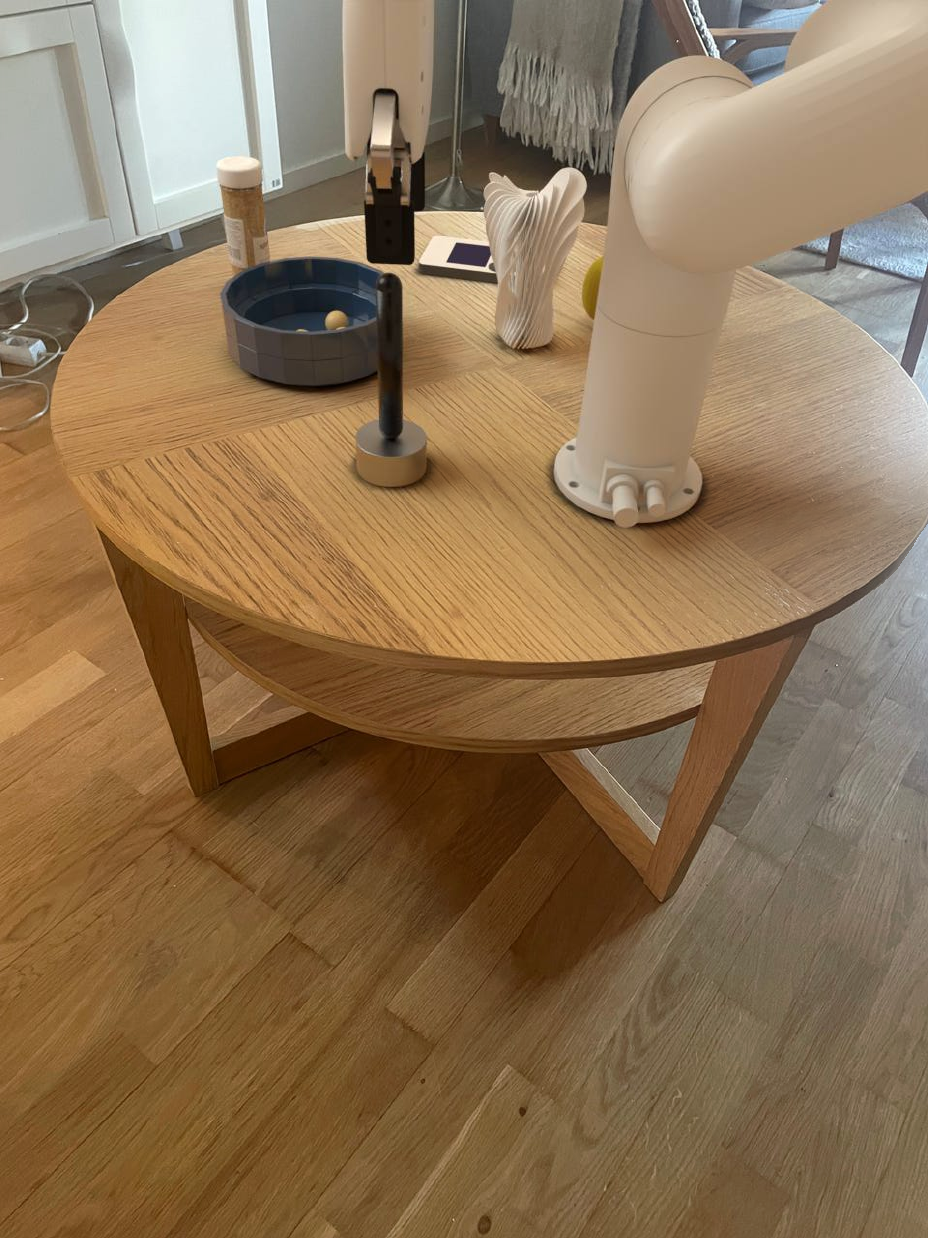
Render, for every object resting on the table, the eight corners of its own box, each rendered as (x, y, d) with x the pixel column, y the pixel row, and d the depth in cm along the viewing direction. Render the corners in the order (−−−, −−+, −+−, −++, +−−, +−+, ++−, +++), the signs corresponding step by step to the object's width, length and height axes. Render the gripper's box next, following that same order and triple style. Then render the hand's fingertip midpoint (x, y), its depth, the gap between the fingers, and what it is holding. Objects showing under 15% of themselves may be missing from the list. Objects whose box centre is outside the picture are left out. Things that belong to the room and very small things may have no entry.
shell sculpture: (469, 330, 98) (479, 148, 86) (540, 320, 101) (558, 142, 88) (499, 366, 93) (514, 179, 80) (573, 355, 95) (598, 171, 83)
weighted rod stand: (423, 489, 77) (426, 293, 65) (352, 485, 77) (342, 288, 65) (428, 449, 82) (432, 259, 70) (361, 445, 82) (353, 254, 70)
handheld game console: (434, 244, 114) (434, 233, 114) (553, 258, 113) (554, 247, 112) (417, 273, 108) (417, 261, 107) (543, 289, 106) (544, 277, 105)
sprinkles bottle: (279, 294, 103) (266, 166, 93) (239, 300, 101) (222, 171, 92) (266, 278, 105) (253, 152, 96) (227, 284, 104) (210, 156, 95)
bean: (327, 308, 94) (317, 321, 93) (345, 303, 93) (336, 317, 92) (338, 328, 96) (328, 341, 95) (356, 324, 95) (347, 337, 93)
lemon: (626, 340, 98) (639, 266, 92) (574, 333, 99) (584, 259, 93) (630, 318, 102) (642, 245, 96) (580, 311, 103) (590, 239, 97)
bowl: (391, 397, 88) (390, 339, 83) (211, 387, 88) (201, 328, 83) (406, 316, 100) (406, 261, 96) (248, 306, 100) (241, 251, 96)
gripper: (346, -85, 60) (360, 189, 72) (301, -39, 48) (327, 284, 59) (460, -81, 60) (455, 193, 72) (446, -33, 48) (443, 289, 59)
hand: (397, 234), depth 66 cm, fingers open, 9 cm apart
